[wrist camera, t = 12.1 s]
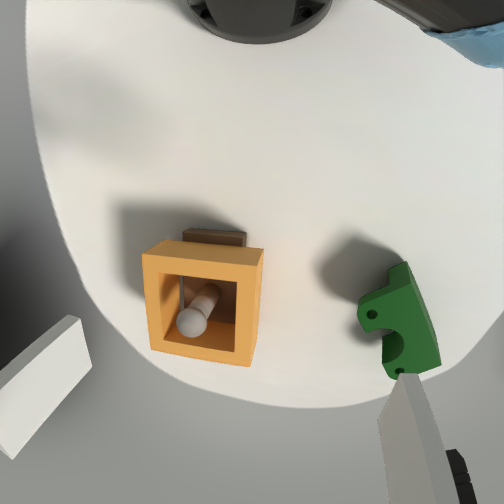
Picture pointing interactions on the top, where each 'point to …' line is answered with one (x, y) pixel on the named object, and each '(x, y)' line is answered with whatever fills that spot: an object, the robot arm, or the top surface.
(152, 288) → the orange hollow square frame
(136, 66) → the top surface
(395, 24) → the top surface
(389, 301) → the clamp
